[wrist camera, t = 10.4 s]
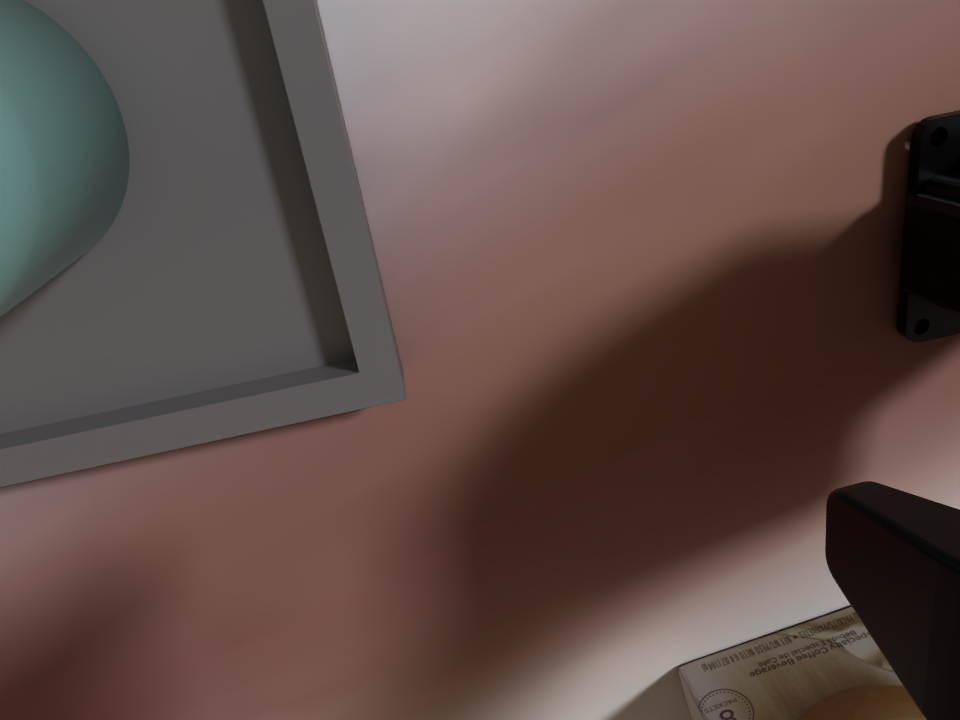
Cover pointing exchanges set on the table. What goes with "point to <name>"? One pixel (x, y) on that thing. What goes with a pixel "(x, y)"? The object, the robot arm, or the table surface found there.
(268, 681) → the table surface
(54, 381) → the tray
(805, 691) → the coffee box
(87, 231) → the green rounded cylinder
